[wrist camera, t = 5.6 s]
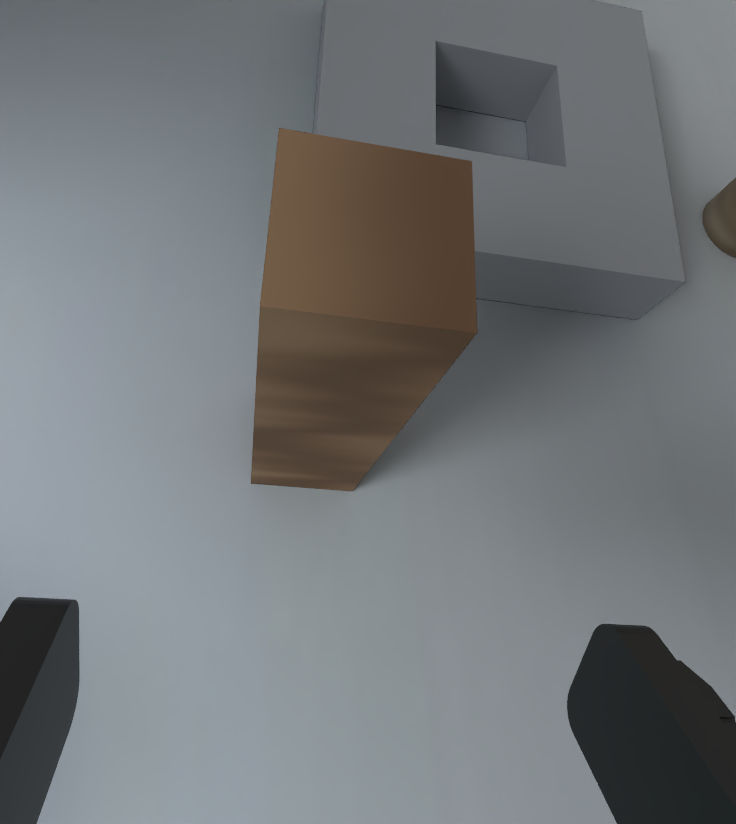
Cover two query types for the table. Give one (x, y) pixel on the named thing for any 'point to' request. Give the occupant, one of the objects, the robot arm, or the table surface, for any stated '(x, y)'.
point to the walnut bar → (356, 303)
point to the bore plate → (546, 136)
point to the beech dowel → (722, 219)
